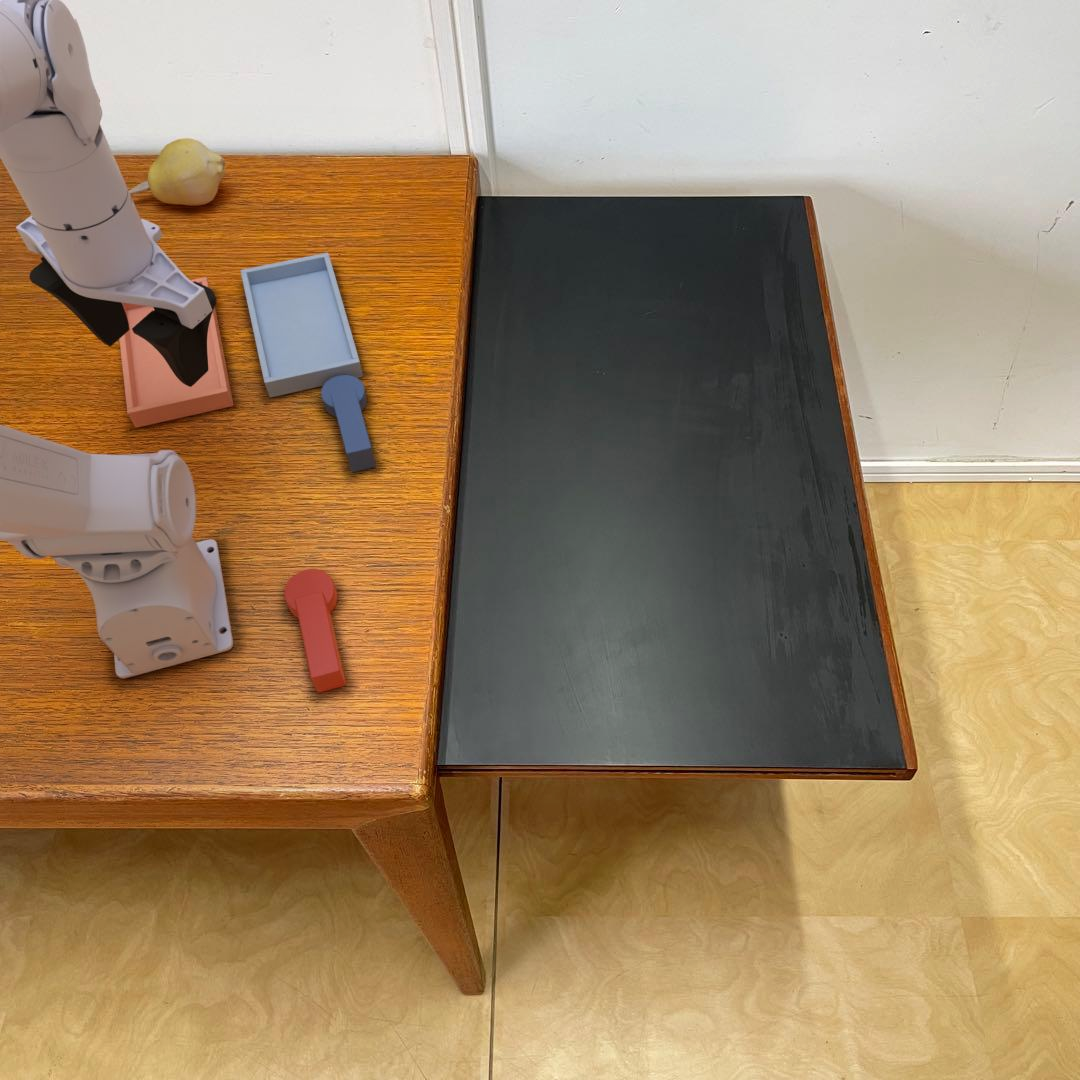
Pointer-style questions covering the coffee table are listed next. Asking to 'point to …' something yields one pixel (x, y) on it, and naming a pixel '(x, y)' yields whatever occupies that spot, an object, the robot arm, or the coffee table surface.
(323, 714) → the coffee table surface
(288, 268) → the blue tray
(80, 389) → the coffee table surface
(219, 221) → the coffee table surface
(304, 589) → the red spoon
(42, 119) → the robot arm
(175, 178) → the fruit
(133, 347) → the rose tray
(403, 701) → the coffee table surface
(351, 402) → the blue spoon
